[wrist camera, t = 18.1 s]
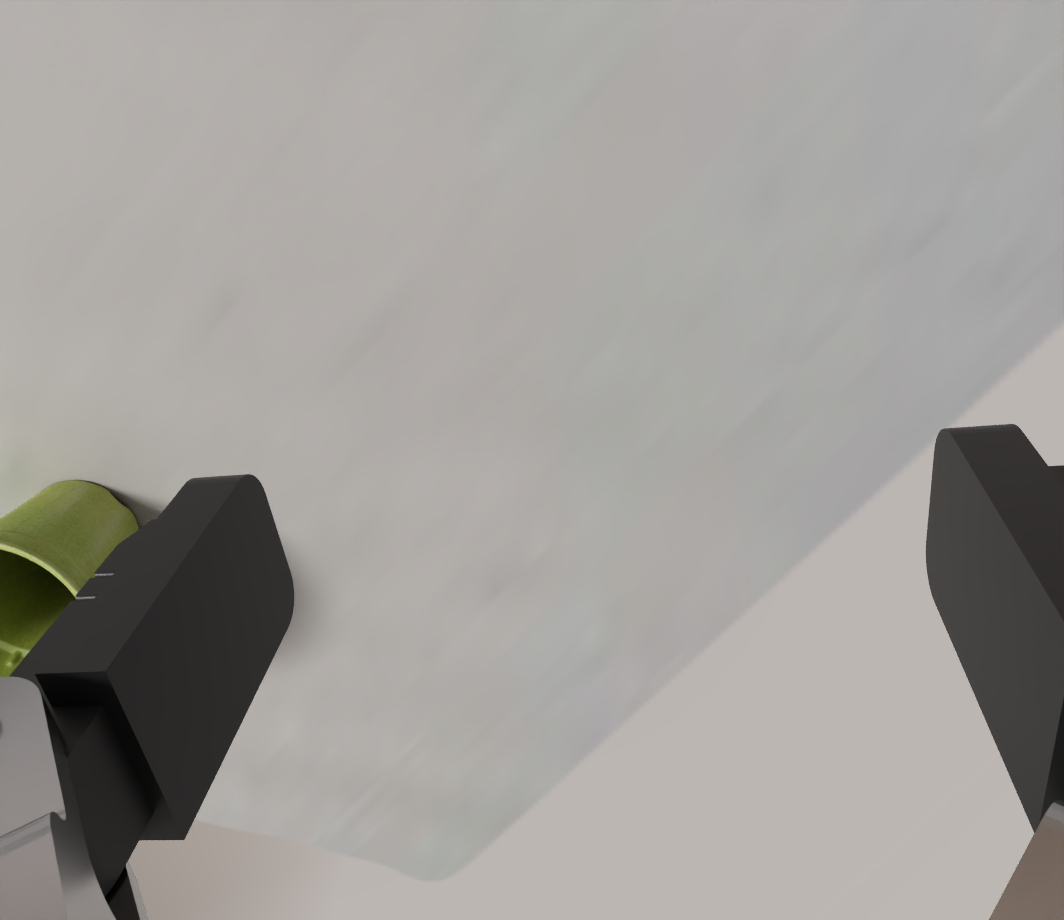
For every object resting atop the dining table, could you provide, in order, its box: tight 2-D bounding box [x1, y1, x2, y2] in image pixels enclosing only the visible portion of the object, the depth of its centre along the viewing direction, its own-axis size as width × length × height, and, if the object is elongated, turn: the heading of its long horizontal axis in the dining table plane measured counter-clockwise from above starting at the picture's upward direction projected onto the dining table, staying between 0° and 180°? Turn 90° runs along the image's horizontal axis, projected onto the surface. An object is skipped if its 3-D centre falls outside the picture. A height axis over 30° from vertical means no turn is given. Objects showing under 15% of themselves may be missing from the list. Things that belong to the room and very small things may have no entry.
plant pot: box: [0, 480, 139, 677], centre depth 50 cm, size 9×9×9 cm
